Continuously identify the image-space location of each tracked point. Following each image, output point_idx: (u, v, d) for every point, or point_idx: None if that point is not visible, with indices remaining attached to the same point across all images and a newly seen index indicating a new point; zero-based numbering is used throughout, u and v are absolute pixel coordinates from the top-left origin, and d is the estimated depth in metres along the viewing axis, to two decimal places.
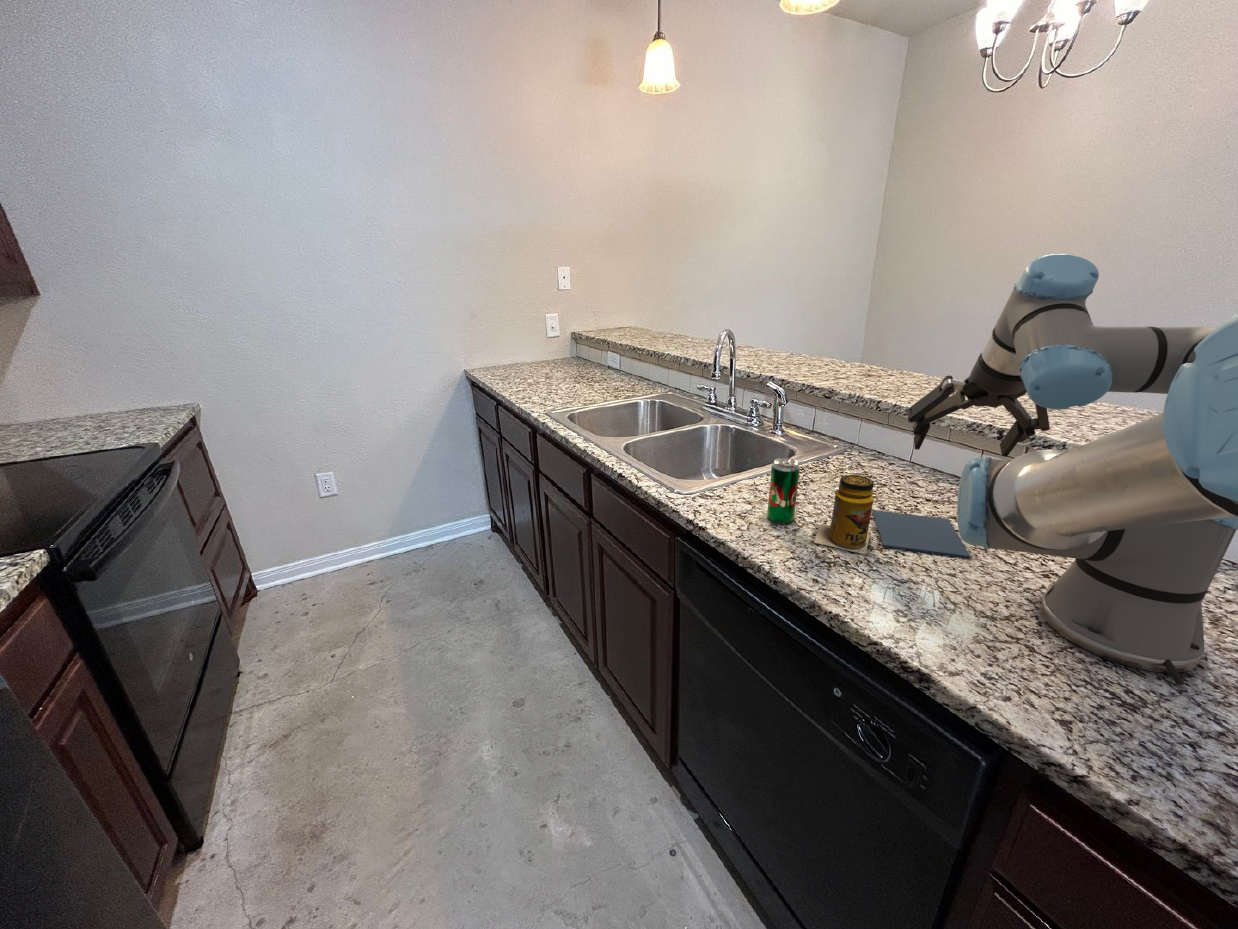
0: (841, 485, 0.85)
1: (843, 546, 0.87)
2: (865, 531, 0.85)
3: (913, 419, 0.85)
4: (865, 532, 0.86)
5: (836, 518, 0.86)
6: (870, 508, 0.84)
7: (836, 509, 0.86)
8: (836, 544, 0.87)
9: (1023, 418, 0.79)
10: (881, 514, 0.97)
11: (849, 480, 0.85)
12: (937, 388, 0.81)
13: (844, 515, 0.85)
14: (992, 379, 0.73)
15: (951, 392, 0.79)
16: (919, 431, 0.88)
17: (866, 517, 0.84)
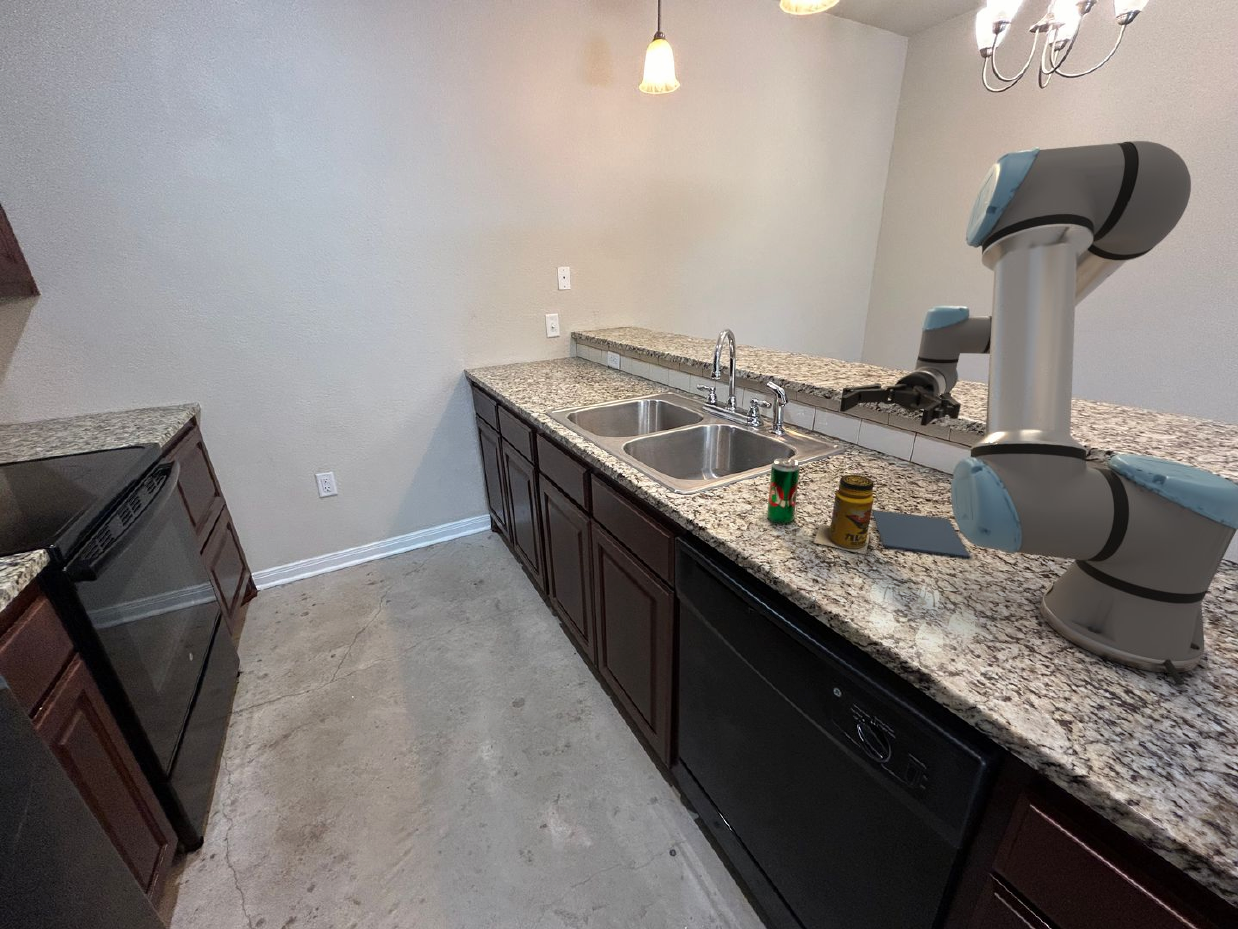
0: (841, 485, 0.85)
1: (843, 546, 0.87)
2: (865, 531, 0.85)
3: (847, 388, 0.99)
4: (865, 532, 0.86)
5: (836, 518, 0.86)
6: (870, 508, 0.84)
7: (836, 509, 0.86)
8: (836, 544, 0.87)
9: (936, 398, 0.90)
10: (881, 514, 0.97)
11: (849, 480, 0.85)
12: None
13: (844, 515, 0.85)
14: None
15: (879, 385, 1.01)
16: None
17: (866, 517, 0.84)
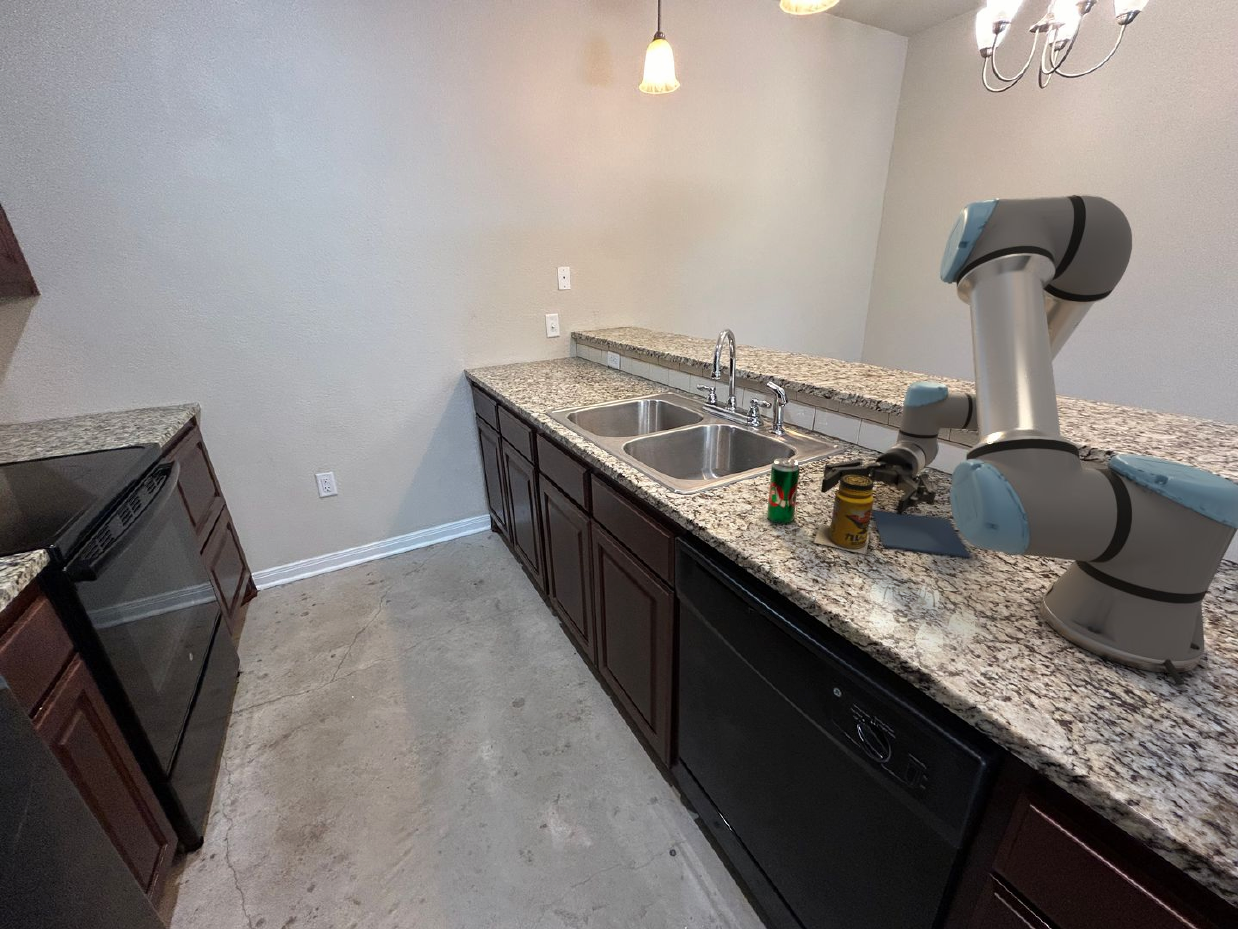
0: (841, 485, 0.85)
1: (843, 546, 0.87)
2: (865, 531, 0.85)
3: (829, 465, 1.02)
4: (865, 532, 0.86)
5: (836, 518, 0.86)
6: (870, 508, 0.84)
7: (836, 509, 0.86)
8: (836, 544, 0.87)
9: (913, 482, 0.93)
10: (881, 514, 0.97)
11: (849, 480, 0.85)
12: None
13: (844, 515, 0.85)
14: (888, 450, 1.04)
15: (860, 460, 1.04)
16: (830, 475, 0.99)
17: (866, 517, 0.84)
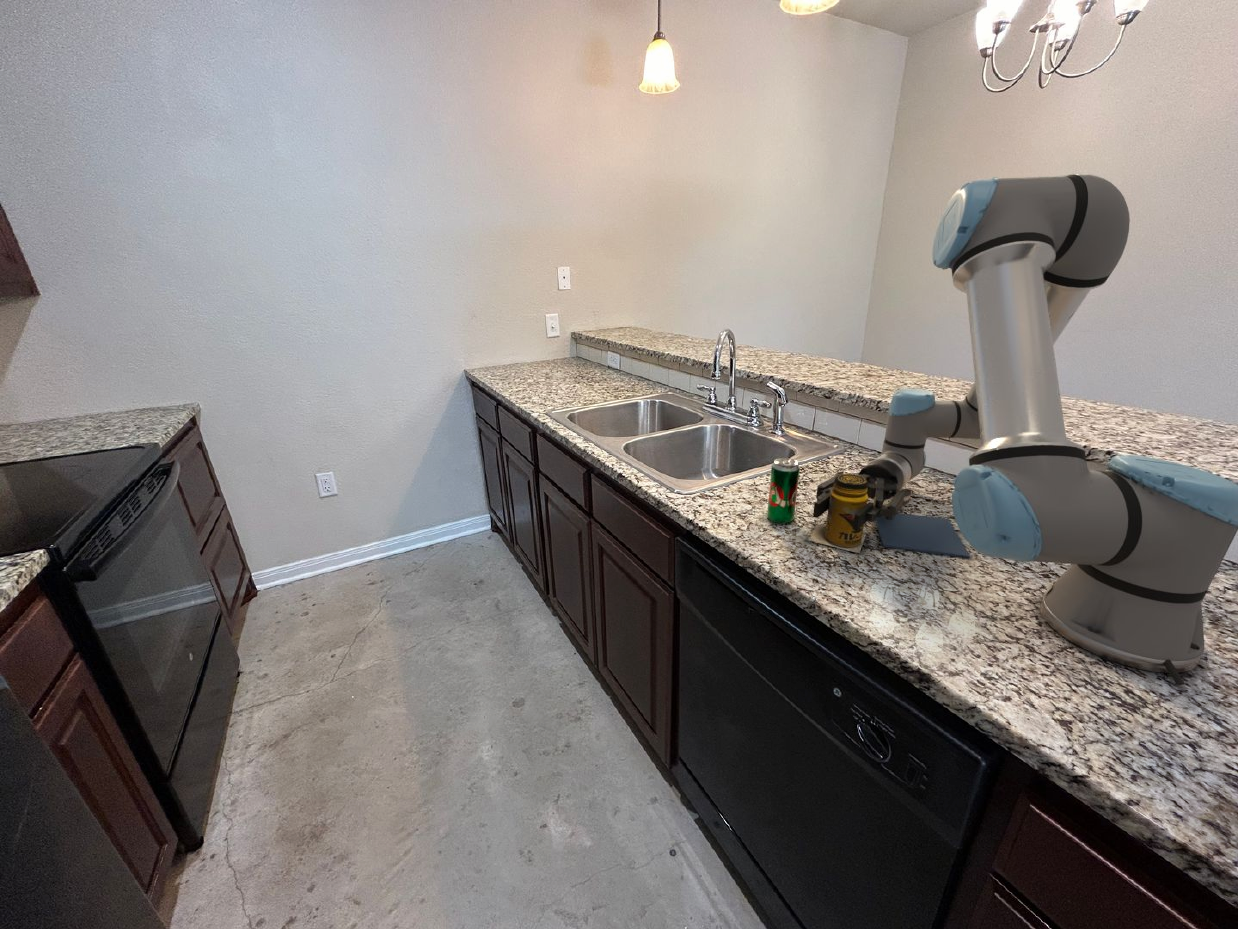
0: (835, 484, 0.85)
1: (837, 545, 0.87)
2: (859, 530, 0.86)
3: (821, 485, 0.92)
4: (859, 531, 0.86)
5: (831, 516, 0.87)
6: None
7: (831, 508, 0.87)
8: (831, 543, 0.88)
9: (881, 496, 0.88)
10: None
11: (843, 479, 0.85)
12: None
13: (838, 513, 0.85)
14: (872, 461, 0.98)
15: None
16: None
17: None
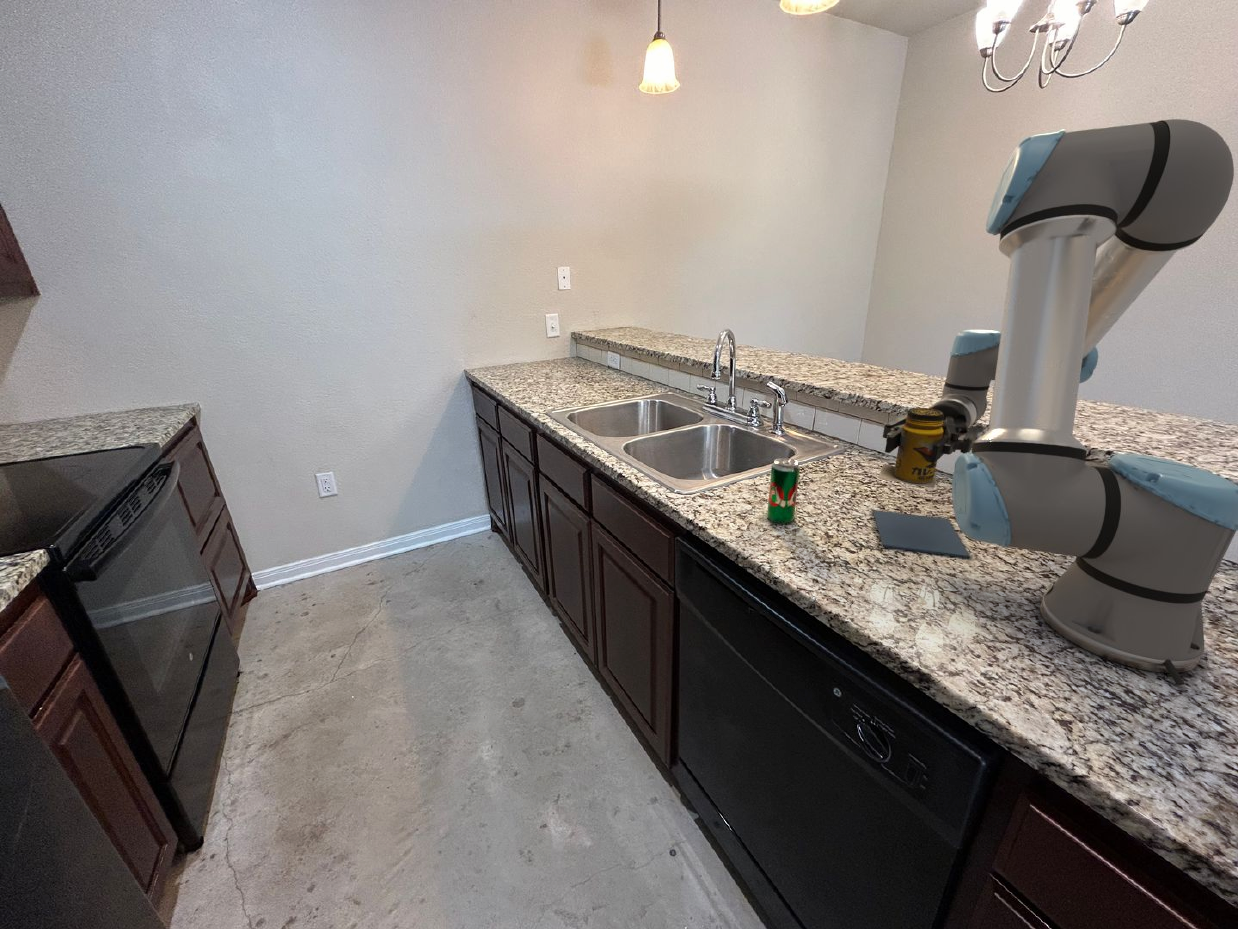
0: (909, 417, 0.83)
1: (910, 481, 0.84)
2: (933, 465, 0.83)
3: (889, 423, 0.90)
4: (933, 466, 0.83)
5: (903, 452, 0.84)
6: None
7: (903, 443, 0.84)
8: (902, 480, 0.85)
9: (954, 431, 0.85)
10: (881, 514, 0.97)
11: (917, 412, 0.82)
12: None
13: (912, 447, 0.82)
14: None
15: None
16: None
17: None
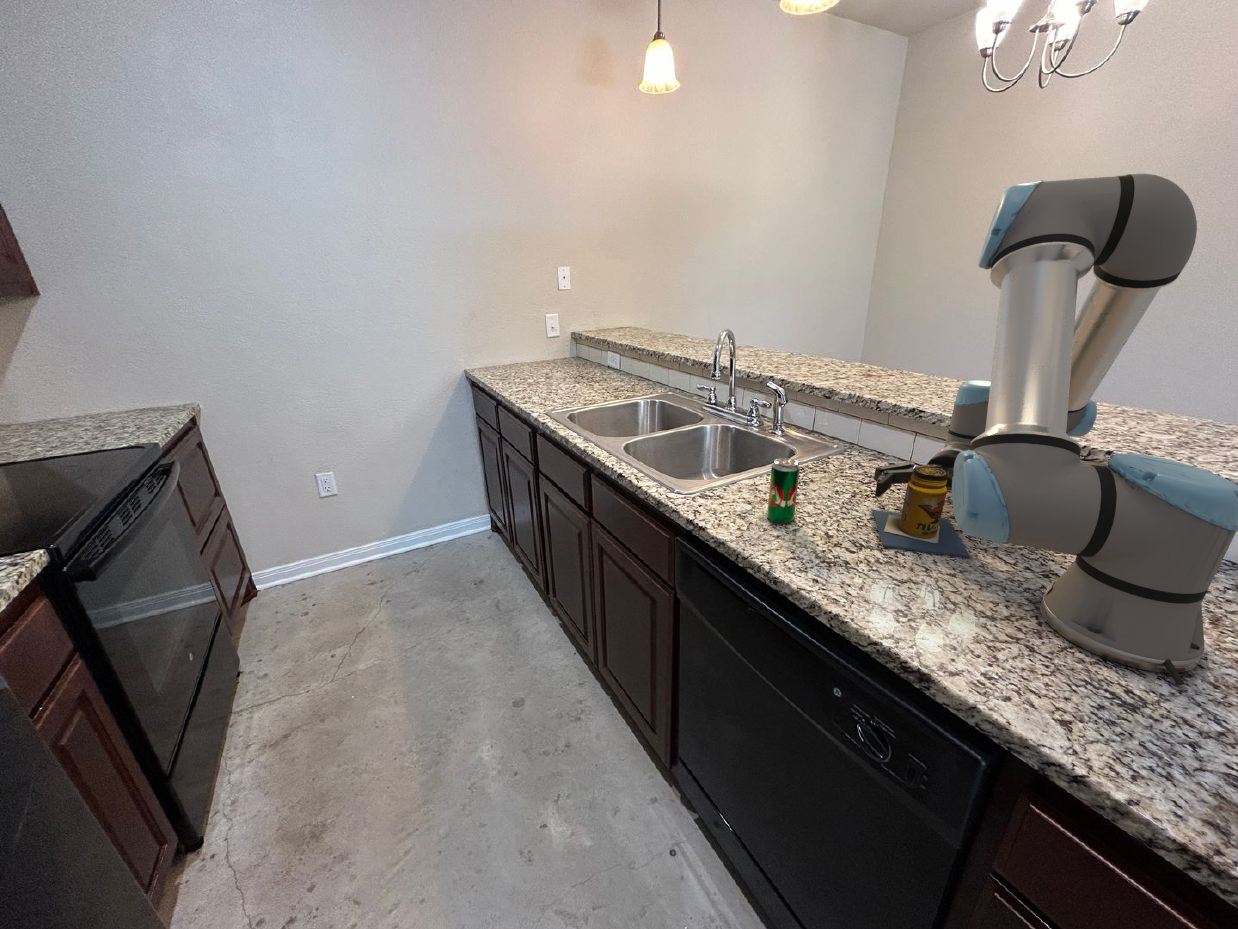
0: (914, 475, 0.87)
1: (914, 536, 0.89)
2: (937, 521, 0.87)
3: (880, 468, 0.97)
4: (937, 522, 0.87)
5: (908, 507, 0.88)
6: (943, 498, 0.86)
7: (908, 499, 0.88)
8: (907, 533, 0.90)
9: None
10: (881, 514, 0.97)
11: (922, 471, 0.87)
12: None
13: (917, 504, 0.87)
14: (941, 452, 1.00)
15: (912, 463, 0.99)
16: (883, 478, 0.94)
17: (939, 507, 0.86)
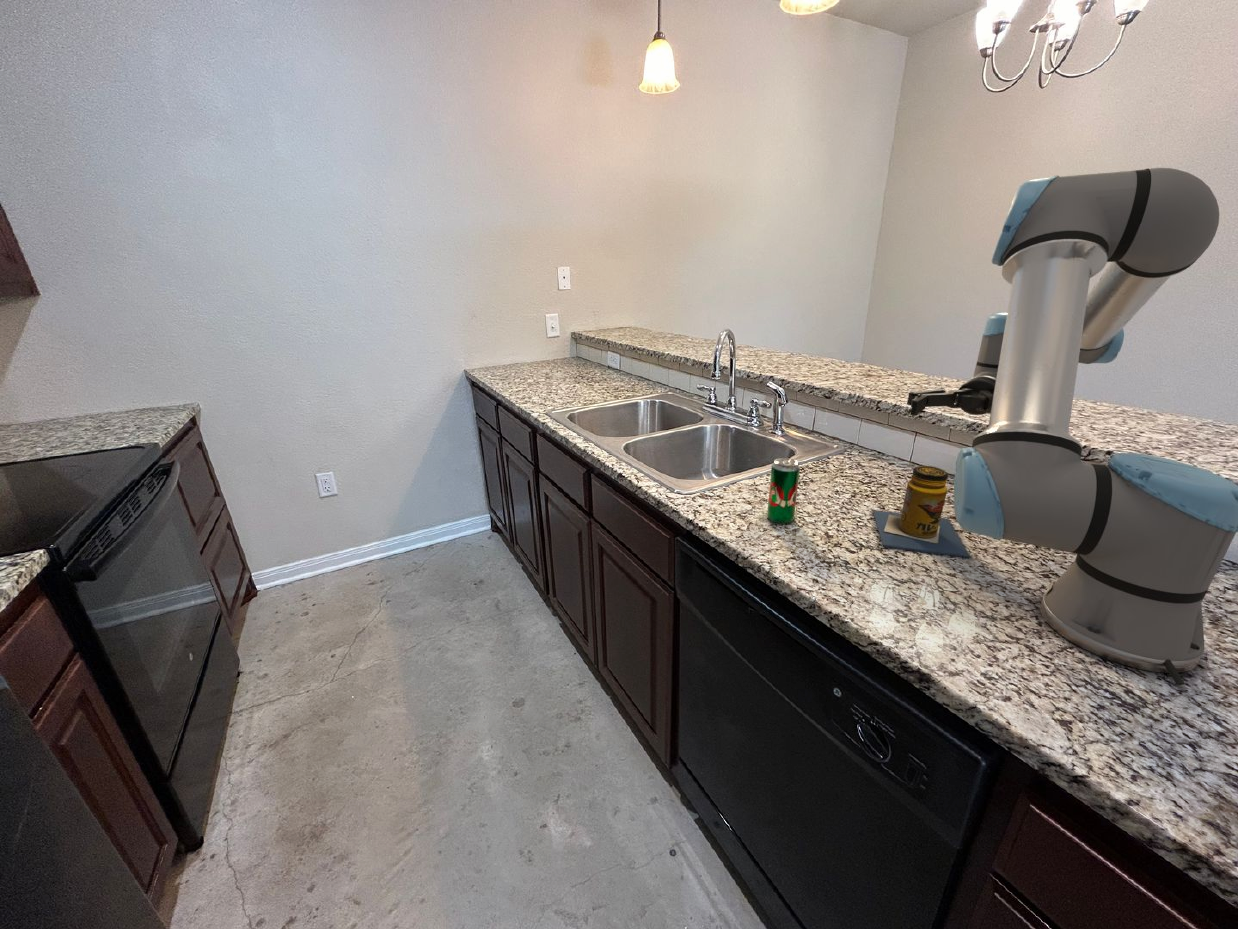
0: (914, 475, 0.87)
1: (914, 536, 0.89)
2: (937, 521, 0.87)
3: (913, 392, 1.01)
4: (937, 522, 0.87)
5: (908, 507, 0.89)
6: (943, 498, 0.86)
7: (909, 499, 0.88)
8: (907, 533, 0.90)
9: None
10: (881, 514, 0.97)
11: (922, 471, 0.87)
12: None
13: (917, 504, 0.87)
14: (971, 379, 1.04)
15: (943, 389, 1.03)
16: None
17: (939, 507, 0.86)
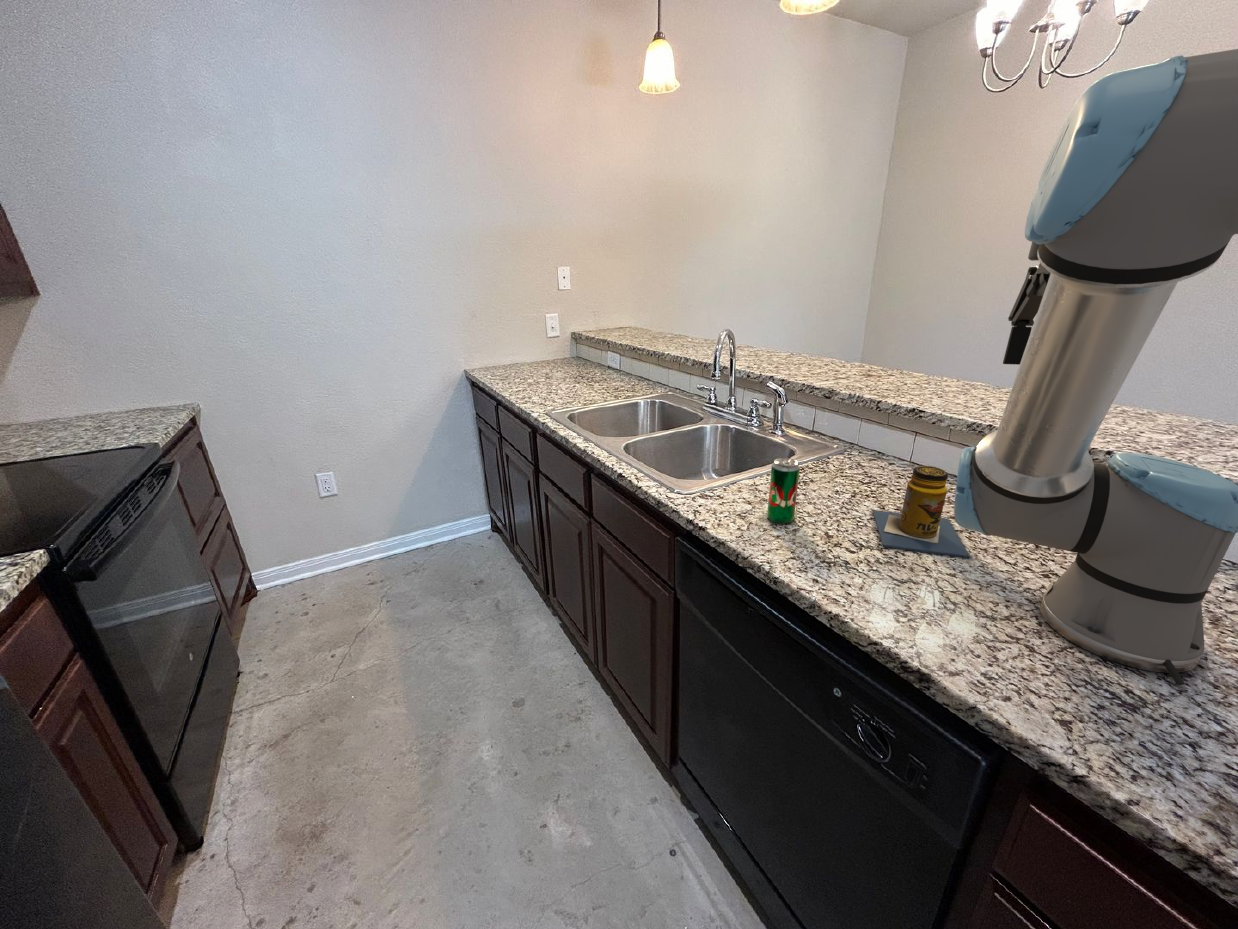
0: (914, 475, 0.87)
1: (914, 536, 0.89)
2: (937, 521, 0.87)
3: (1010, 316, 0.89)
4: (937, 522, 0.87)
5: (908, 507, 0.89)
6: (943, 498, 0.86)
7: (909, 499, 0.88)
8: (907, 533, 0.90)
9: None
10: (881, 514, 0.97)
11: (922, 471, 0.87)
12: None
13: (917, 504, 0.87)
14: None
15: (1029, 274, 0.84)
16: None
17: (939, 507, 0.86)
